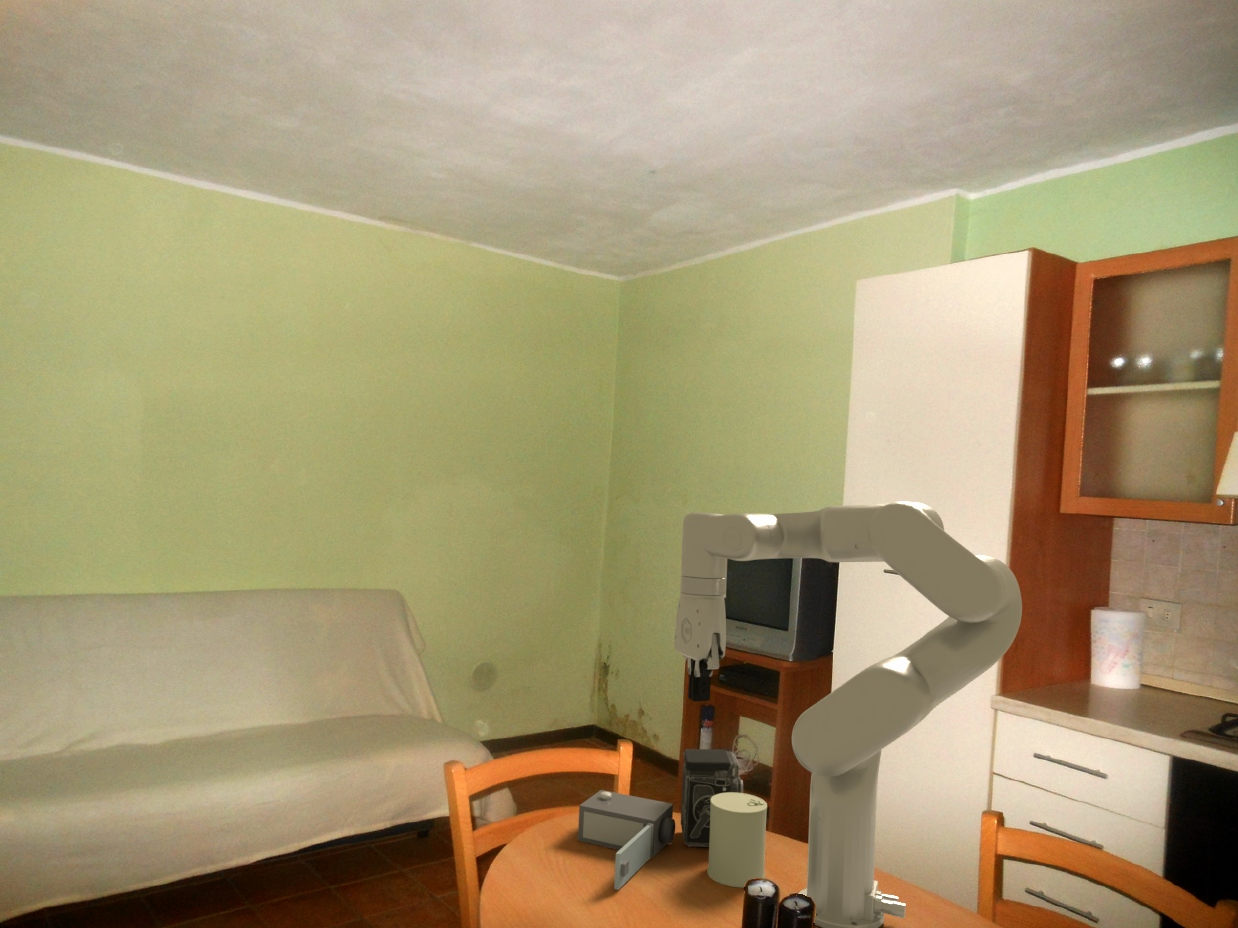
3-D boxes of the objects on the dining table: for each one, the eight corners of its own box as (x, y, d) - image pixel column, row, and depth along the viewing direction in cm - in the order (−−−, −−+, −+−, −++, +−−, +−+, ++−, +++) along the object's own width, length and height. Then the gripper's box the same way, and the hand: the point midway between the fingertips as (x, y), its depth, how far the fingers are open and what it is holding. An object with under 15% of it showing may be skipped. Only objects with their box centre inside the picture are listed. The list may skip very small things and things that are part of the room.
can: (769, 889, 131) (772, 810, 132) (710, 886, 131) (713, 808, 132) (759, 863, 141) (762, 790, 141) (704, 861, 141) (706, 787, 141)
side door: (647, 854, 141) (648, 822, 141) (655, 856, 141) (656, 824, 141) (613, 888, 129) (614, 852, 129) (622, 890, 128) (623, 854, 128)
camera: (745, 854, 144) (748, 765, 144) (683, 851, 144) (686, 762, 145) (737, 830, 154) (740, 747, 155) (679, 827, 154) (683, 744, 155)
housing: (680, 840, 149) (681, 800, 149) (662, 859, 140) (663, 817, 141) (599, 822, 155) (601, 785, 155) (577, 840, 146) (579, 800, 147)
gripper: (663, 582, 145) (659, 690, 144) (703, 593, 131) (699, 712, 131) (702, 582, 148) (698, 688, 147) (746, 592, 134) (742, 710, 133)
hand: (698, 699), depth 139 cm, fingers closed
